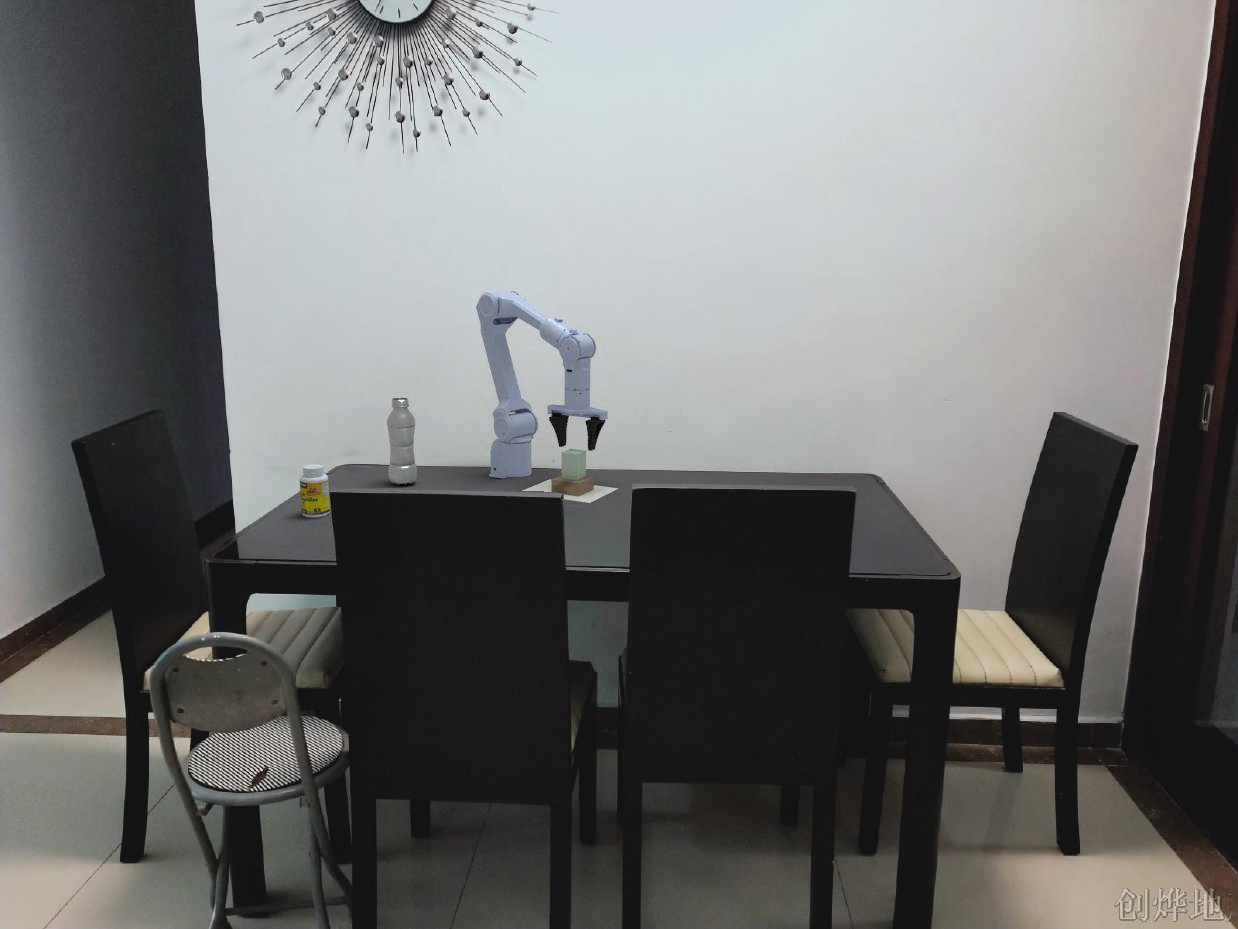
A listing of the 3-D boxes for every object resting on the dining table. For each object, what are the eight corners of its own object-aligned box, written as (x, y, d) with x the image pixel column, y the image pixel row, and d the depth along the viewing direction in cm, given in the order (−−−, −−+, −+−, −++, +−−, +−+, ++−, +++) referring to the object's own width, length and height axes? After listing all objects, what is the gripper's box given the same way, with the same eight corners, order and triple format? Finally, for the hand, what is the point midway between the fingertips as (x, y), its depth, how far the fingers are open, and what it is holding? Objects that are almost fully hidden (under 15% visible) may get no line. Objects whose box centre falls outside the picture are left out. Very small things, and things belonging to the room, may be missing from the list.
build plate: (518, 495, 211) (518, 492, 210) (550, 482, 223) (550, 479, 223) (589, 506, 203) (589, 502, 203) (618, 491, 215) (618, 488, 215)
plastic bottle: (382, 485, 218) (379, 399, 213) (400, 479, 224) (396, 395, 219) (406, 488, 215) (403, 401, 211) (423, 482, 222) (420, 397, 217)
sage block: (561, 478, 211) (561, 452, 210) (570, 474, 215) (570, 448, 213) (577, 480, 209) (577, 454, 208) (585, 476, 213) (586, 450, 212)
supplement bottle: (296, 517, 192) (292, 468, 190) (312, 510, 197) (309, 462, 195) (319, 519, 190) (316, 470, 188) (335, 512, 196) (333, 464, 193)
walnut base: (551, 492, 211) (551, 479, 210) (566, 485, 217) (566, 473, 216) (578, 496, 208) (579, 483, 207) (593, 489, 214) (593, 476, 213)
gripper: (540, 388, 211) (540, 447, 214) (597, 393, 204) (596, 454, 207) (556, 384, 217) (556, 442, 220) (612, 389, 210) (611, 449, 214)
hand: (576, 448), depth 214 cm, fingers open, 7 cm apart
